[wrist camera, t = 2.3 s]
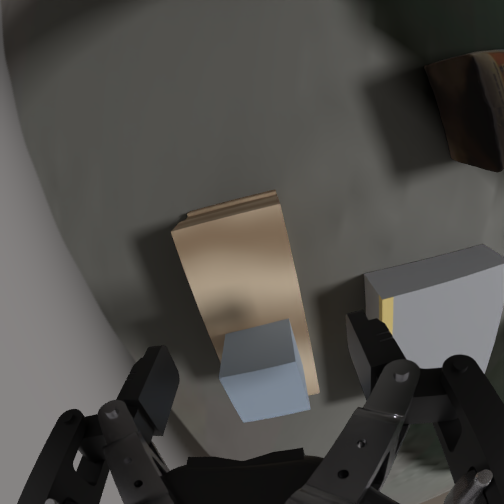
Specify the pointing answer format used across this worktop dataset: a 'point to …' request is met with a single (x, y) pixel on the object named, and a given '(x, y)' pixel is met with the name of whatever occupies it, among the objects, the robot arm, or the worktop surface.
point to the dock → (441, 305)
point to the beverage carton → (472, 106)
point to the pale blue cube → (264, 372)
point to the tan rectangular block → (244, 271)
